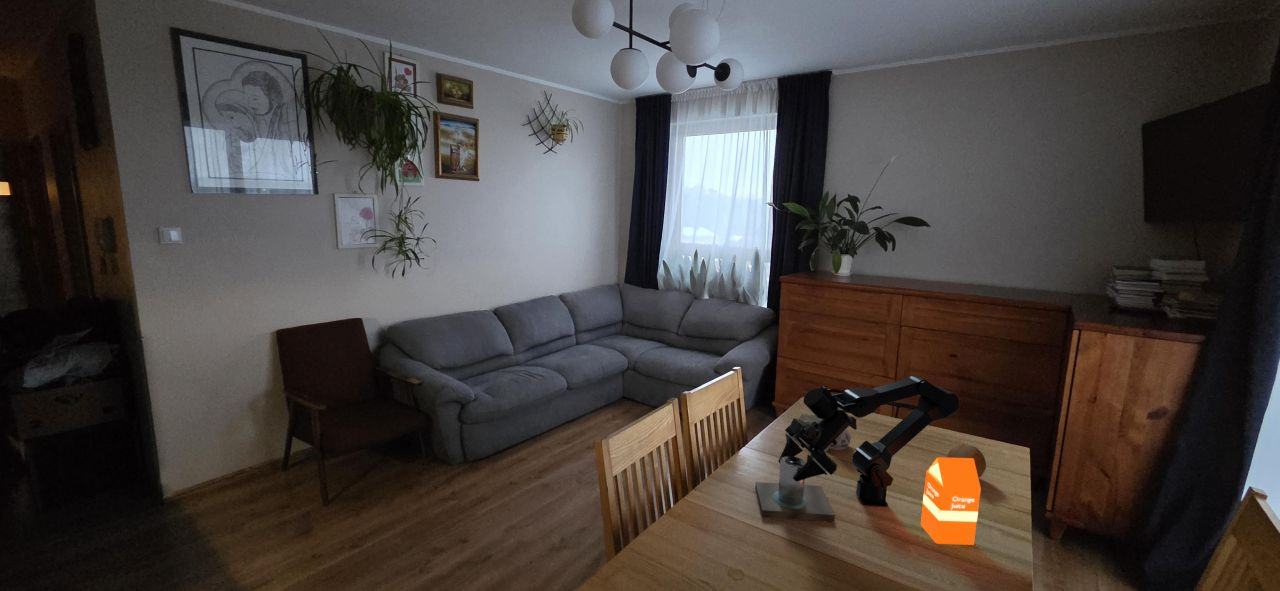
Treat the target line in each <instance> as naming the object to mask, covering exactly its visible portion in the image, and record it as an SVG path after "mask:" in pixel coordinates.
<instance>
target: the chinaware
mask: <svg viewBox="0 0 1280 591" xmlns="http://www.w3.org/2000/svg"><path fill="white" fill-rule="evenodd" d="M838 410H842V409H841V408H838ZM843 411H844V410H843ZM797 419H798V420H801V421H803V422H805V423H807V424H812V423H813V422H816V423H819V422H820V421H821V420H822V419H819V418H818V417H817V416H816V415H815V414H814V413H812V414H807V413H801V414H800V415H799V416H798V418H797ZM851 440H852V436H851V433H850V432H849V430H848V427H847V428H846V429H845V430H844V431H843V432H842V433H841V434H840V435H839V436H838V437H837V438H836V439H835V441H836V442H837V444H836V445H834V444H833V443H831V444H830V445H829V446H828V448H827V449H826V450H825V451H824V452H825V453H826V454H827V452H828V451H829V450H833V451H843V449H844V450H846V449H847V448H848V445H850V444H851ZM812 450H814V448H813V449H812Z"/></svg>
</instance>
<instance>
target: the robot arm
mask: <svg viewBox="0 0 1280 591" xmlns="http://www.w3.org/2000/svg"><path fill="white" fill-rule="evenodd" d="M919 395H920V397H919V398H918V402H917V406H916V407H915V409H914V410H912V411H911V412H910V413H909V414H907V415H906V416H905V417H904V418H903V419H902V420H900V421H899V422H898V423H897V424H896V425H894V427H893V428H892V429H891V430H889V431H888V432H887V433H886V434H885V435H884V436H883V437H881V438H880V439H879V440H878V441H875V442H873V443H872V442H870V441H868V440H865V441H863V442H862V443H861V444H860V446H858V447H855V448H854V450H855V451H854V452H853V454H852V456H851V458H852V459H851V460H852V465H853V467H855V469H856V472H858V473H859V479H858V480H857V481H856V491H855V494H856V496H857V498H858V499H859V500H860V502H861V503H862V505H863V506H875V507H888V506H889V504H888V502H887V501H886V499H887V490H888V487H891V485H892V483H893V481H894V478H893V476H892V475H890V474H889V472H888V471H887V470H889V468H890V466H891V462H892V458H893V457H894V456H895V455H896V454H897V453H898V452H899V451H901V449H902V448H904V447H905V446H906V445H907V444H908V443H909V442H911V441H912V440H913V439H914V438H915V437H916V436H918V435H919V434H920V433H921V432H922V431H923V430H924V429H925V428H927V427H928V426H929V425H930V424H931V423H932V422H936V421H939V420H943V419H946V418H948V417H949V416H951V415H952V414H954V413H956V412H957V410H958V409H959V407H960V406H959V405H960V400H959V396H958V395H957V394H956V393H953V392H951V391H949V390H946V389H944V388H943V387H940V386H938V385H934V384H933V383H931V382H929V381H928V380H927V379H924V378H923V377H920V376H919V375H911V376H909V377H908V378H904V379H901V380H897V381H894V382H890V383H887V384H883V385H880V386H876V387H873V388H863V387H857V388H849V389H845V390H843V392H840V393H834V394H831V392H830V390H829V389H828V388H827V387H825V386H824V385H820V387H819V388H814V389H812V390H809V391H808V392H806V394H805V395H804V397H803V404H804V405H805V406H806V407H807V408H808V409H809V410H810V411H811V412H812V414H815V415H816V416H817V417H818V418H819V419H822V420H821V421H820V422H819V423H816V422H813V423H812V424H807V423H805V422H803V421H801V420H799V419H798V418H795V417H793V419H792V421H791V422H790V425H789V426H787V427H786V428H785V430H784V431H785V437H786V443H785V446H784V448H783V451H782V453H781V454H780V456H779V459H778V461H777V462H778V463H779V464H780V459H781V458H783V457H786V456H793V457H797V456H798V455H799V454H800V453H803V451H804V450H803V449H806V450H807V452H809V453H810V455H809V454H807V457H806V462H805V463H806V464H805V465H804V466H803V467H802V468H801V470H800V471H799V472H798V473H797V474H796V476H795V477H794V480H795V481H796V482H797V481H800V480H804V479H805V480H806V479H809V478H813V477H816V476H820V475H821V476H822V475H825V476H827V475H828V474H829V475H830V476H832V475H833V474H835V472H837V470H838V469H837V467H838V465H837V464H836V463H835V462H834V461H833V460H832V459H831V458H830V457H829V455H828V454H827V452H826V453H825V452H824V451H825V450H826V449H827V448H828V446H829V445H830V444H831V443H833V444H834V445H836V444H837V442H836V441H835V439H836V438H837V437H838V436H839V435H840V434H841V433H842V432H843V431H844V430H845V429H846V428H847V429H848V428H849V427H850V428H852V429H853V430H855V431H856V430H858V427H857V418H858V419H860V418H864V417H867V416H870V414H873V413H875V412H876V411H877V409H878V408H879V407H881V406H884V405H887V404H888V405H889V404H891V403H894V402H897V401H898V402H899V401H901V400H904V399H909V398H912V397H915V396H919ZM838 408H841V409H842V410H838ZM843 410H844V411H843ZM848 414H850V415H851V416H850V415H848ZM853 416H854V417H853ZM855 417H856V418H855ZM813 448H814V450H812V449H813Z"/></svg>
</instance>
